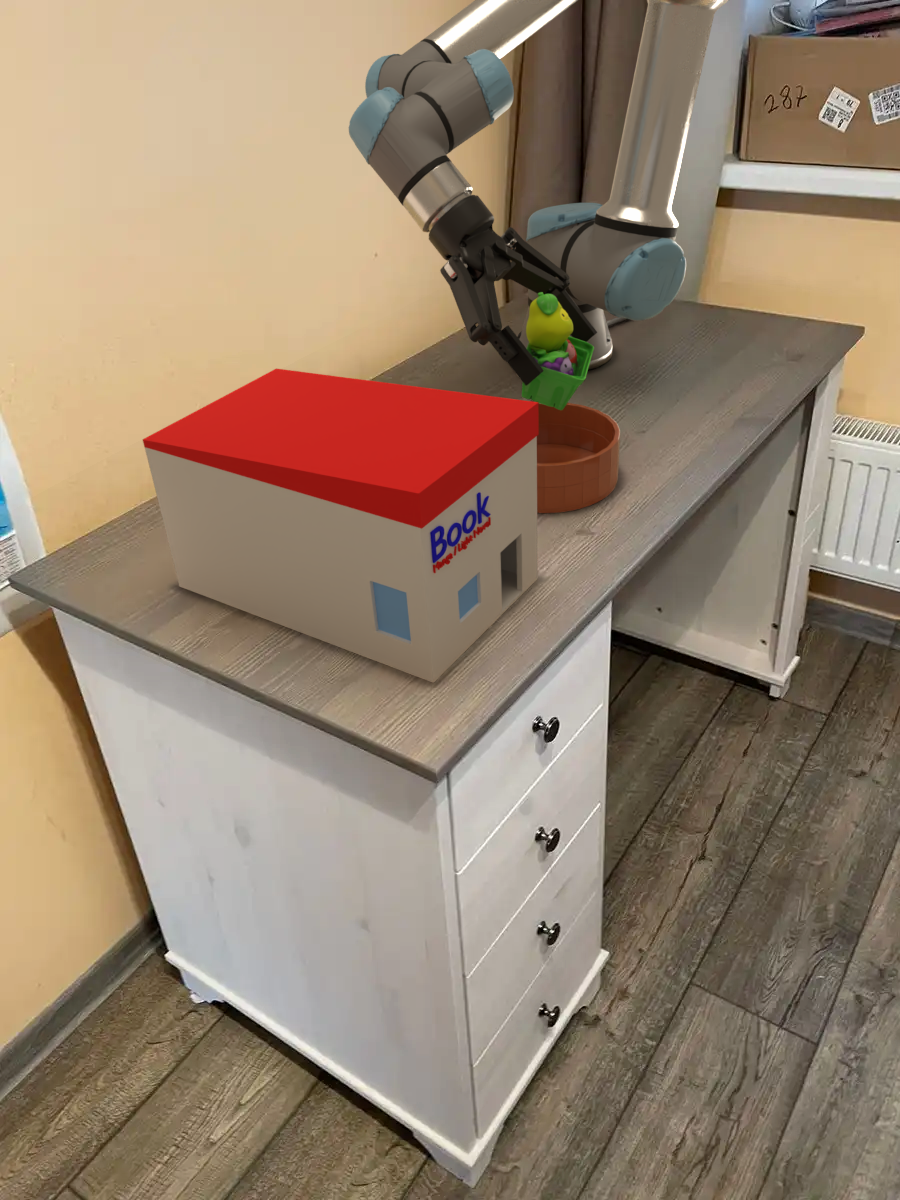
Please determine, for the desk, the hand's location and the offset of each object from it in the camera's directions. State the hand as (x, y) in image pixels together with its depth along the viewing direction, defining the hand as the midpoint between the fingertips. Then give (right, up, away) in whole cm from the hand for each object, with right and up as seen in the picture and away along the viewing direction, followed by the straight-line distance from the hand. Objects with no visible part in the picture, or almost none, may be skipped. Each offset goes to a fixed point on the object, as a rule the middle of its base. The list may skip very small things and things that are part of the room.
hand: (563, 358), depth 121 cm
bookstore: (-24, -27, -7) cm, 36 cm away
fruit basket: (-2, -3, +3) cm, 5 cm away
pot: (-1, -13, +10) cm, 17 cm away
